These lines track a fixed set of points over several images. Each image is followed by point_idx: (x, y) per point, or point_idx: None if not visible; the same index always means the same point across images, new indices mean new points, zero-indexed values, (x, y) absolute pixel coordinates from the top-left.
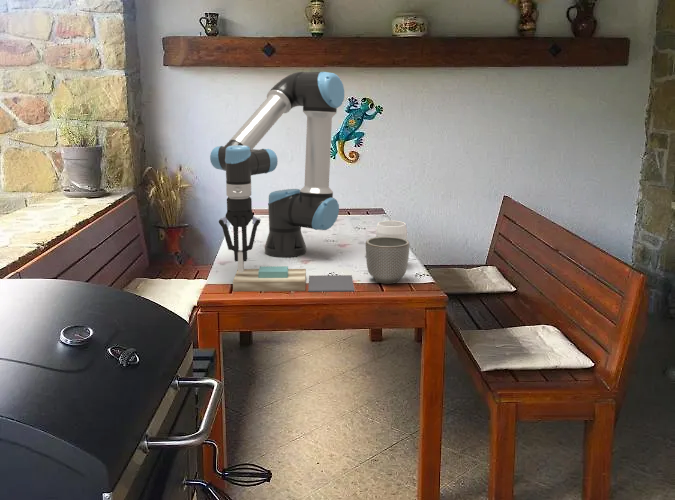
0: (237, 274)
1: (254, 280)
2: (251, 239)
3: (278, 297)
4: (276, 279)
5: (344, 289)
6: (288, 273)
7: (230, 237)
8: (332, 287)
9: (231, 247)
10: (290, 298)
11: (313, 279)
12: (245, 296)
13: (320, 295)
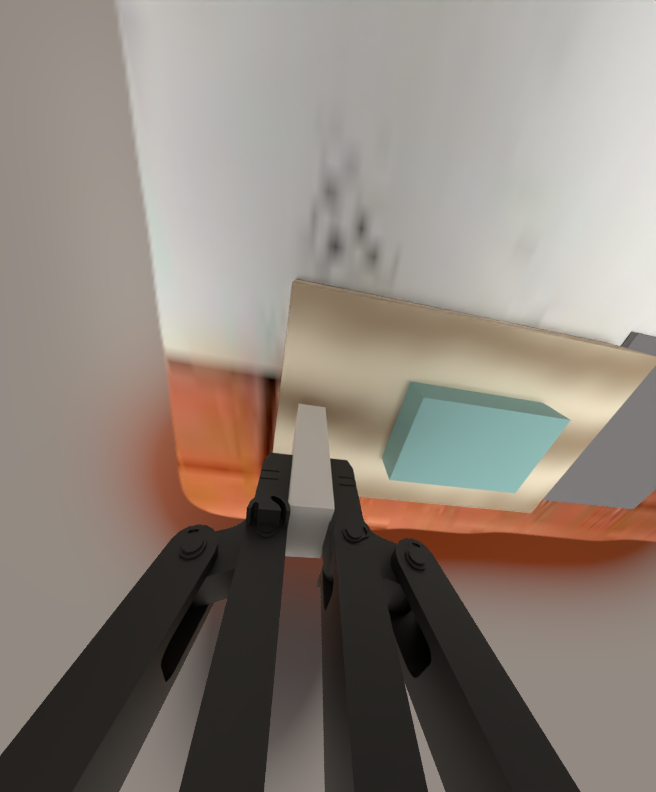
0: (289, 393)
1: (358, 482)
2: (440, 731)
3: (408, 519)
4: None
5: (614, 501)
6: None
7: (116, 719)
8: (598, 482)
9: (210, 600)
10: (436, 528)
11: None
12: None
13: (523, 519)
